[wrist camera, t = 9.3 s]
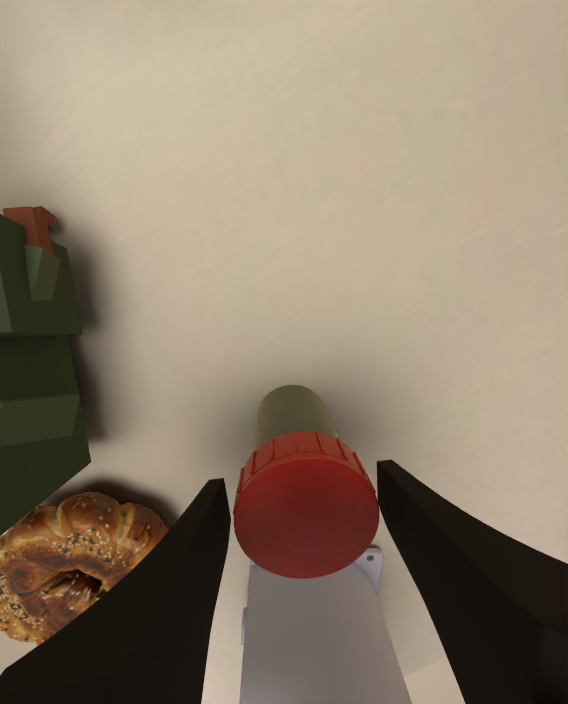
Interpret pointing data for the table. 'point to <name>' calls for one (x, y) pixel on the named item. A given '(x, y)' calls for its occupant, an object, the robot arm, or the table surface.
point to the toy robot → (36, 366)
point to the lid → (304, 506)
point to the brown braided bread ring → (69, 560)
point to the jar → (290, 414)
